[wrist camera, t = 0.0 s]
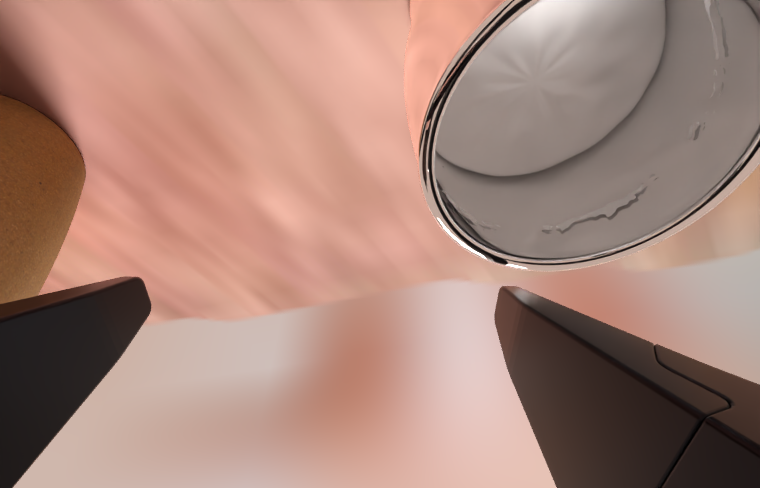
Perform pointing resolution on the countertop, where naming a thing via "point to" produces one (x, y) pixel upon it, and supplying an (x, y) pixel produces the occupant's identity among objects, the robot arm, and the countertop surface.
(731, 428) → the robot arm
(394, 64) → the countertop surface
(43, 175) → the plant pot
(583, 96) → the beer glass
